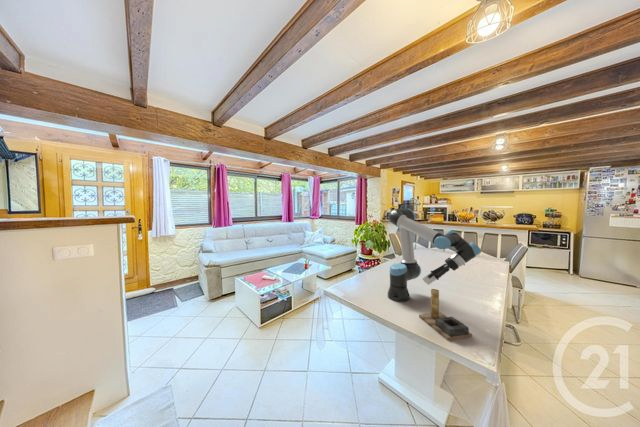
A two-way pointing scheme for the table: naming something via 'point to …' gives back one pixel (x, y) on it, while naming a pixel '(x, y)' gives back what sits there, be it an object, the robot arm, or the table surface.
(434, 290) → the peg
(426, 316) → the board
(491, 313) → the table surface
